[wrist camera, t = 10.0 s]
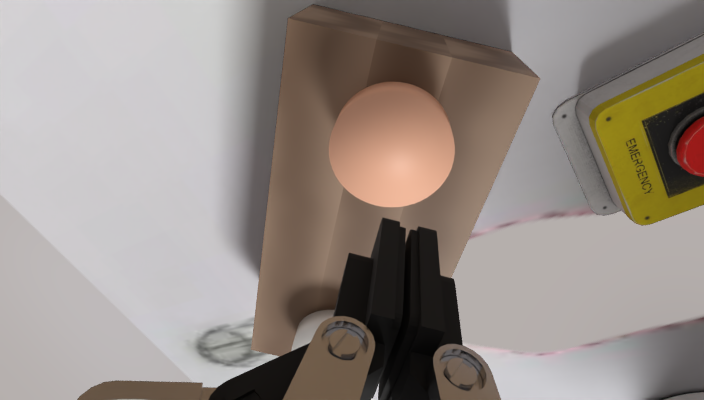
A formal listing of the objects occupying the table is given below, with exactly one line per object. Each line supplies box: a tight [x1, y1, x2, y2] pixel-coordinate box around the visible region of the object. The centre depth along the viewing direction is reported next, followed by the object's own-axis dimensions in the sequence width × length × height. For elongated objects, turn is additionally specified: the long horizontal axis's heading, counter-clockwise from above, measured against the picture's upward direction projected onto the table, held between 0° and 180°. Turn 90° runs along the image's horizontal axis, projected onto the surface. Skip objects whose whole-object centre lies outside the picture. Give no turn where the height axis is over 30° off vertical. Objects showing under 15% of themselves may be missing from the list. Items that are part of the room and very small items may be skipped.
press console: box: [251, 4, 540, 356], centre depth 28 cm, size 12×24×6 cm, turn 168°
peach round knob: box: [329, 82, 455, 207], centre depth 22 cm, size 6×6×8 cm
